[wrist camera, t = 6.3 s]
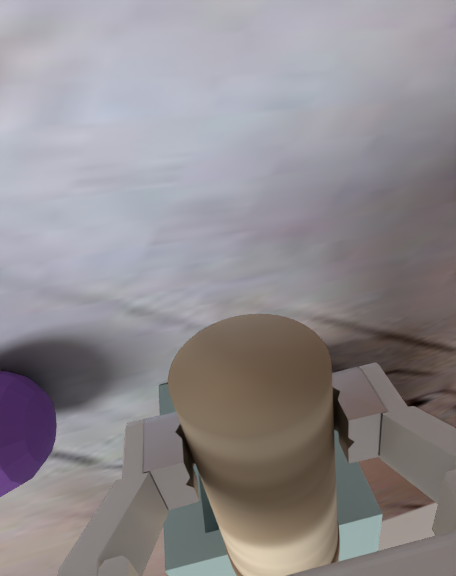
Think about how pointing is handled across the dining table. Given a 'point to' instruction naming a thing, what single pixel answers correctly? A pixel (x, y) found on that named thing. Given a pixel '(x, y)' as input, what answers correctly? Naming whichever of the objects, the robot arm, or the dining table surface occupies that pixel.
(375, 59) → the dining table surface
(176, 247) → the dining table surface
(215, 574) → the block
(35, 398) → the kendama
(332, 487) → the dowel
